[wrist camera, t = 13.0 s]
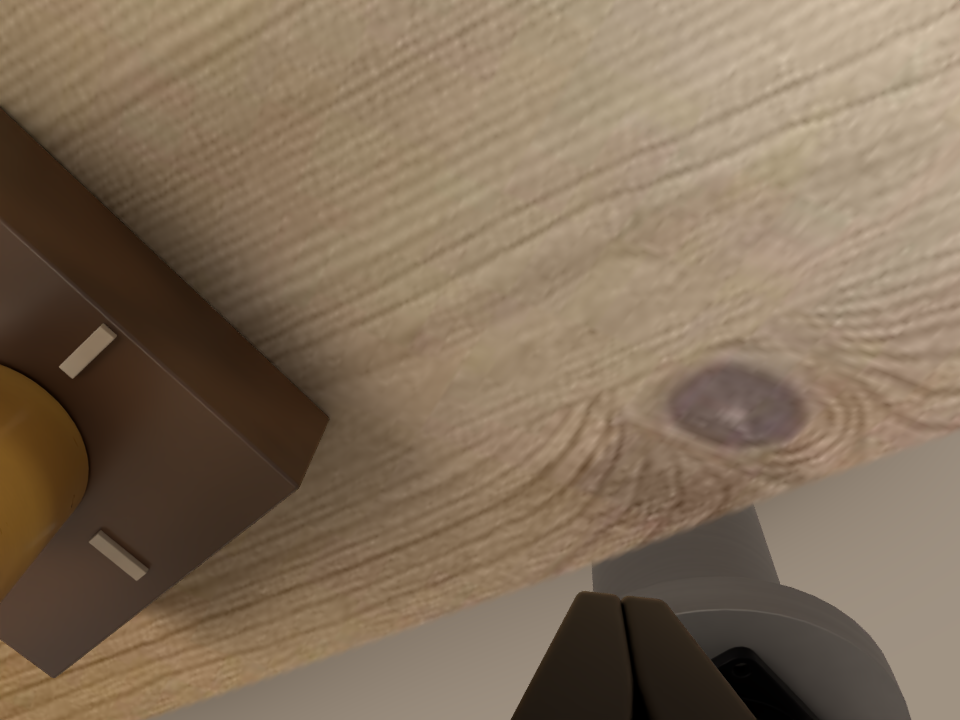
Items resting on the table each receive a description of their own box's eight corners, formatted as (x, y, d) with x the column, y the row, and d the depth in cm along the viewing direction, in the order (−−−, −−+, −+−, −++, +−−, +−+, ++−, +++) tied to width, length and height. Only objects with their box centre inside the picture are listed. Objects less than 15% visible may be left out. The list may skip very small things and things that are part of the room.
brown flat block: (331, 418, 22) (299, 493, 19) (106, 598, 25) (50, 686, 22) (-8, 98, 19) (-104, 131, 16) (-213, 346, 22) (-325, 410, 19)
